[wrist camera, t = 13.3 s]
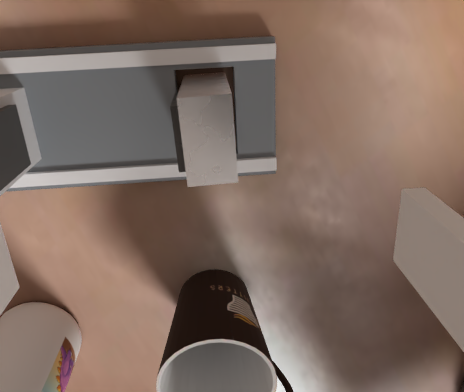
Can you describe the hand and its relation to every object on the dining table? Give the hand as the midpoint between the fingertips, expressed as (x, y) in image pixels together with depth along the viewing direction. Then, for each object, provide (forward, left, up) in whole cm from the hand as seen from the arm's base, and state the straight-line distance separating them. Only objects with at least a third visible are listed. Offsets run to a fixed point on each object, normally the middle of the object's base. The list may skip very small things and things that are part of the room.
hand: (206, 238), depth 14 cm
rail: (0, +7, -20) cm, 21 cm away
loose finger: (0, 0, -20) cm, 20 cm away
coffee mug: (-19, 0, -20) cm, 27 cm away
